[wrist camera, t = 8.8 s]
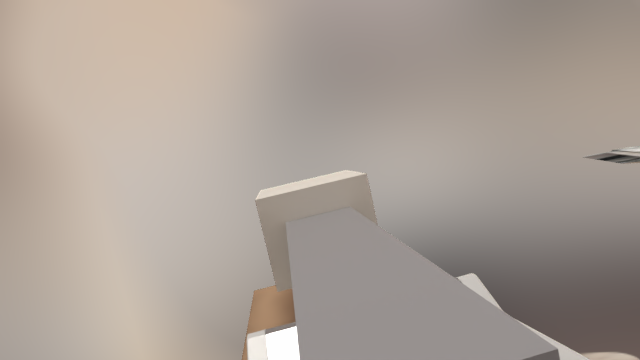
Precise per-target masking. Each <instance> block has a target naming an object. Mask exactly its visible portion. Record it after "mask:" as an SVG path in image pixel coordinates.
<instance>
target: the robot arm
mask: <svg viewBox="0 0 640 360" xmlns="http://www.w3.org/2000/svg"><path fill="white" fill-rule="evenodd" d="M455 279H457V280H458V281H460V282H461V283H463V284H464V285H466V286H467V287H468V288H470V289H471V290H473V291H474V292H476V293H477V294H479V295H480V296H482V297H483V298H485V299H486V300H487V301H489V302H490V303H492V304H493V305H495V306H496V307H498V308H499V309H501V308H500V306H499V305H498V304H497V302H496V301H495V300H494V298H493V297H492V296H491V294H490V293H489V292H488V290H487V289H486V288H485V286H484V285H483V284H482V282H481V281H480V280H479V278H478V277H477V276H476V275H475V274H473V273H472V274H471V273H470V274H467V275H464V276H460V277H457V278H455ZM501 310H502V309H501ZM502 311H503V310H502ZM515 320H516V319H515ZM517 321H518V320H517ZM518 322H520V321H518ZM520 323H521V322H520ZM521 324H523V323H521ZM523 325H524V326H525V327H527V328H528V329H530V330H531V331H533V332H534V333H536V334H537V335H539V336H540V337H542V338H543V339H544V340H546V341H547V342H549V343H550V344H552V345H553V346H555V347H556V348H558V351H559V357H560V360H590V359H588V358H586V357H584V356H583V355H581V354H579V353H577V352H575V351H573V350H571V349H570V348H568V347H566V346H564V345H562V344H560V343H558V342H557V341H555V340H553V339H551V338H549V337H547V336H546V335H544V334H542V333H540V332H538V331H536V330H534V329H533V328H531V327H529V326H527V325H525V324H523ZM247 359H248V360H300V359H299V349H298V339H297V330H296V322H293V323H289V324H285V325H281V326H277V327H273V328H269V329H265V330H261V331H257V332H254V333H250V334H248V335H247Z"/></svg>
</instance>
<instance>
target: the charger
mask: <svg viewBox="0 0 640 360" xmlns="http://www.w3.org/2000/svg"><path fill="white" fill-rule="evenodd" d="M255 202H256V206H257V210H258V214H259V218H260V222H261V227H262V231H263V235H264V239H265V243H266V247H267V251H268V255H269V259H270V264H271V267H272V272H273V276H274V280H275V284H276V288H277V292H280V291H283V290H287V289H291V288H292V291H293V301H294V310H295V320H296V330H297V339H298V349H299V359H300V360H560V357H559V351H558V348H556V347H555V346H553V345H552V344H550V343H549V342H547V341H546V340H544V339H543V338H542V337H540V336H539V335H537V334H536V333H534V332H533V331H531V330H530V329H528V328H527V327H525V326H524V325H523V324H521V323H520V322H518V321H517V320H515V319H514V318H512V317H511V316H509V315H508V314H506V313H505V312H504V311H502V310H501V309H499V308H498V307H496V306H495V305H493V304H492V303H490V302H489V301H487V300H486V299H485V298H483V297H482V296H480V295H479V294H477V293H476V292H474V291H473V290H471V289H470V288H468V287H467V286H466V285H464V284H463V283H461V282H460V281H458V280H457V279H455V278H454V277H452V276H451V275H449V274H448V273H446V272H445V271H444V270H442V269H440V268H439V267H438V266H436V265H435V264H433V263H432V262H430V261H429V260H427V259H426V258H425V257H423V256H422V255H420V254H418V253H417V252H416V251H414V250H413V249H411V248H410V247H408V246H407V245H406V244H404V243H403V242H401V241H400V240H398V239H397V238H395V237H394V236H392V235H391V234H390V233H388V232H386V231H385V230H384V229H382V228H381V227H379V226H378V224H377V219H376V215H375V210H374V205H373V201H372V196H371V191H370V187H369V183H368V178H367V174H366V173H361V172H355V171H349V170H344V171H340V172H335V173H331V174H327V175H323V176H319V177H314V178H310V179H306V180H302V181H297V182H293V183H289V184H285V185H280V186H276V187H272V188H268V189H263V190H260V192H259V194H258V196H257V198H256V199H255Z"/></svg>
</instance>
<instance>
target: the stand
mask: <svg viewBox="0 0 640 360" xmlns="http://www.w3.org/2000/svg"><path fill="white" fill-rule="evenodd" d="M293 322H296V320H295V310H294V301H293V291H292V288H291V289H287V290H283V291H280V292H277V288H276V285H275V286H271V287H267V288H263V289H260V290H256V291H254V295H253V301H252V306H251V311H250V317H249V323H248V328H247V333H246V339H245V344H244V350H243V356H242V360H248V359H247V335H248V334H250V333H254V332H257V331H261V330H265V329H269V328H273V327H277V326H281V325H285V324H289V323H293Z"/></svg>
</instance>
